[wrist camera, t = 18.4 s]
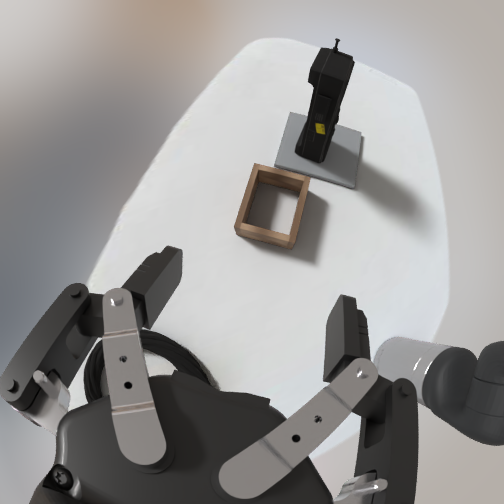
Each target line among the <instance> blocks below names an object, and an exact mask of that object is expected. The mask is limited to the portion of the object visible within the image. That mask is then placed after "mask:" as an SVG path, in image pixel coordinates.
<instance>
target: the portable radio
mask: <svg viewBox="0 0 504 504" xmlns="http://www.w3.org/2000/svg"><path fill="white" fill-rule="evenodd" d="M335 40H336V44H335V47H333V49H329V48H321V49H320V51H319V53H318V55H317V57H316V58H315V60H314V62H313V64H312V66H311V68H310V73H309V78H308V82H309V83H310V84H312V86H313V87H314V90H313V94H312V99H311V103H310V108H309V112H308V117H307V121H306V122H305V124H304V127H303V129H302V132H301V134H300V136H299V138H298V141H297V143H296V146H295V151H294V152H295V153H296V154H297V155H299V156H301V157H303V158H306V159H308V160H311V161H314V162H316V163H321V162H324V160H325V158H326V155H327V152H328V149H329V146H330V143H331V140H332V136H333V135H334V132H335V125H336V124H337V123H338V120H339V116H338V115H339V112H340V106H341V103H342V100H343V97H344V94H345V91H346V88H347V85H348V82H349V79H350V76H351V73H352V70H353V67H354V63H355V62H354V61H353V57H352V56H350V55H347V54H345V53H342V52H339V51H338V48H337V45H338V42H339V41H340V40H339V39H335Z"/></svg>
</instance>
